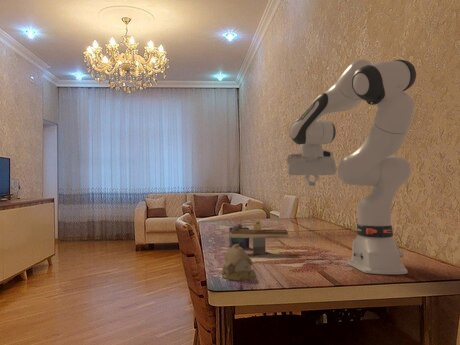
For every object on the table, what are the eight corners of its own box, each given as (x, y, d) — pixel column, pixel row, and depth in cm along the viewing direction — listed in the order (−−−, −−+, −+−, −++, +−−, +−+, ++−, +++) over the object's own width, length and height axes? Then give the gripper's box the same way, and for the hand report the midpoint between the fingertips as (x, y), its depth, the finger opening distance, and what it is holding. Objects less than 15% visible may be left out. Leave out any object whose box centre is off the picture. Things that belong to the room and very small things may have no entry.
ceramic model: (261, 278, 124) (261, 246, 125) (227, 281, 121) (227, 248, 121) (245, 269, 138) (245, 239, 138) (213, 271, 134) (213, 241, 134)
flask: (228, 247, 182) (228, 223, 182) (230, 246, 185) (230, 222, 185) (248, 248, 179) (248, 223, 179) (250, 247, 182) (250, 223, 182)
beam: (288, 254, 164) (288, 227, 164) (229, 253, 166) (229, 226, 166) (287, 251, 170) (287, 225, 170) (231, 250, 172) (231, 224, 172)
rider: (261, 233, 167) (261, 221, 167) (254, 233, 167) (254, 221, 167) (261, 232, 170) (261, 220, 170) (254, 232, 170) (254, 220, 170)
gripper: (287, 153, 171) (287, 186, 170) (336, 152, 170) (337, 185, 169) (286, 154, 177) (286, 186, 177) (333, 154, 176) (334, 185, 176)
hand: (311, 185), depth 173 cm, fingers closed
